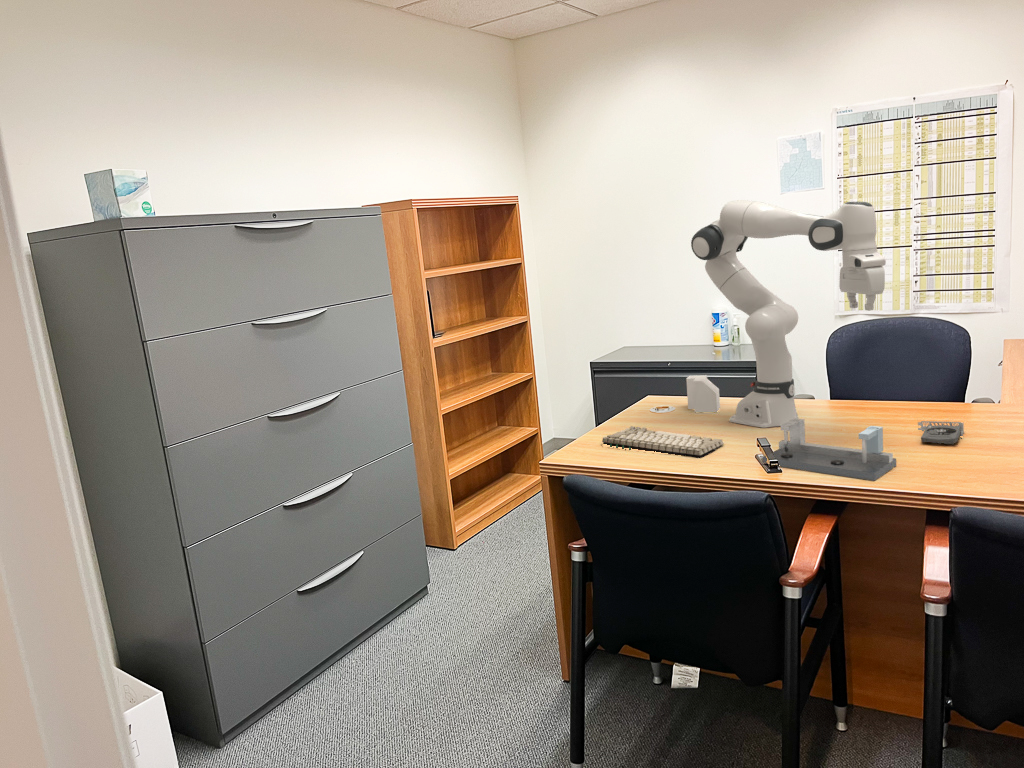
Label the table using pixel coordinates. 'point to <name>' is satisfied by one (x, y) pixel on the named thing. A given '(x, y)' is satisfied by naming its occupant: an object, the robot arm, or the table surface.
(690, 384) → the grey chamfered block
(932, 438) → the graphics card
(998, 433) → the table surface
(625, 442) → the mechanical keyboard
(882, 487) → the table surface
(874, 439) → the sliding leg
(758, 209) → the robot arm
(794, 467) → the grey fixture base
